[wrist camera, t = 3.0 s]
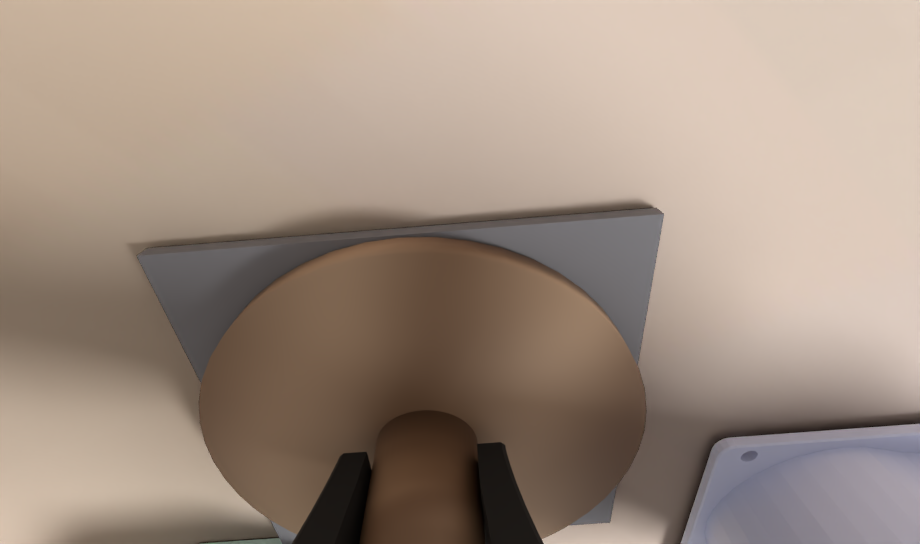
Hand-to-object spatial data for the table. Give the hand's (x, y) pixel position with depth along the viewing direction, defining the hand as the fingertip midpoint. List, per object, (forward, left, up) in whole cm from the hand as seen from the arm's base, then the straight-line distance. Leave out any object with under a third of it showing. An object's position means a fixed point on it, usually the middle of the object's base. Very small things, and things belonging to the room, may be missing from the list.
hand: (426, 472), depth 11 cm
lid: (0, 0, -2) cm, 2 cm away
